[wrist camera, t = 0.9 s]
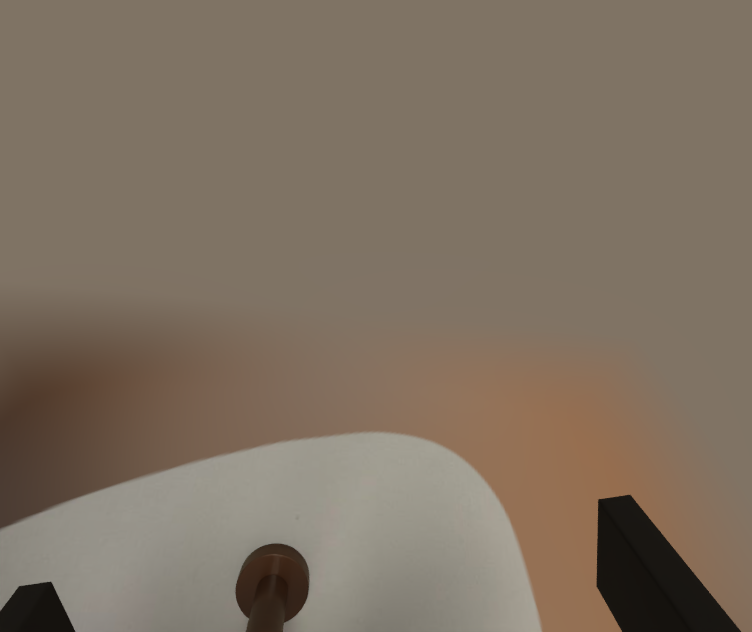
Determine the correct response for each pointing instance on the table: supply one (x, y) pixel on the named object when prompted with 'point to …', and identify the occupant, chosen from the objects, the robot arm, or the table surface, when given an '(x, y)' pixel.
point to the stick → (272, 587)
